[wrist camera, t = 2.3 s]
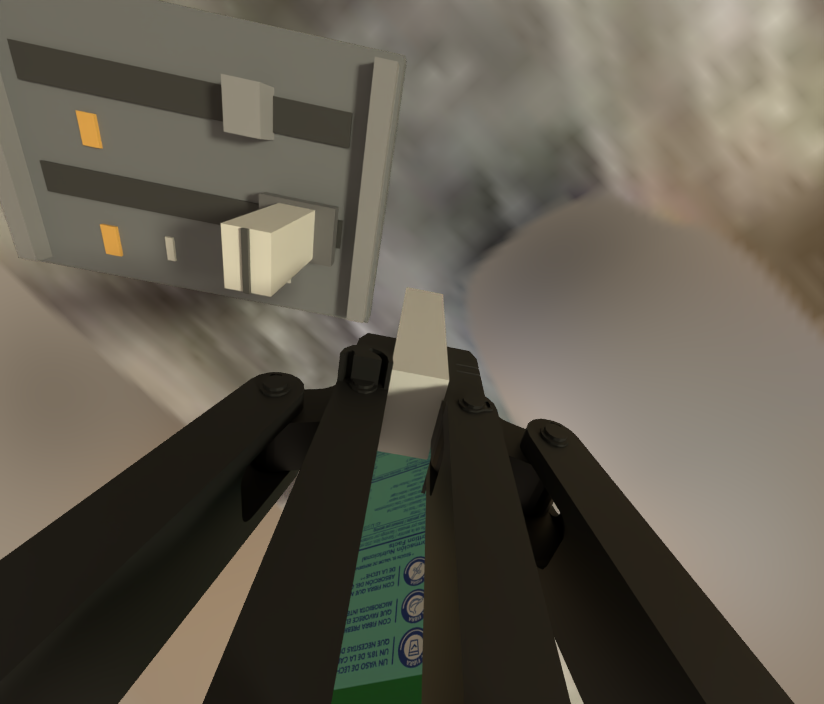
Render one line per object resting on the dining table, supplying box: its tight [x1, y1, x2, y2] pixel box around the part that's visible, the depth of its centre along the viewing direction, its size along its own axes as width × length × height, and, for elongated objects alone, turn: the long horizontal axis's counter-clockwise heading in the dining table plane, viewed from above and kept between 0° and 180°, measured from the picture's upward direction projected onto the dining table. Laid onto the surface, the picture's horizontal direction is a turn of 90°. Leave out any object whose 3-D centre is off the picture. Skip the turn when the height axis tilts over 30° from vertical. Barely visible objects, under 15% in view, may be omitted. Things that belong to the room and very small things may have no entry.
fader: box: [221, 192, 339, 297], centre depth 20 cm, size 4×5×8 cm
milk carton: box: [331, 448, 431, 704], centre depth 24 cm, size 9×9×25 cm
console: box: [0, 0, 407, 323], centre depth 23 cm, size 16×24×4 cm, turn 79°
